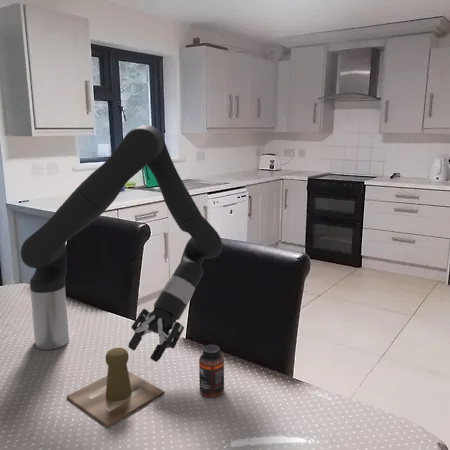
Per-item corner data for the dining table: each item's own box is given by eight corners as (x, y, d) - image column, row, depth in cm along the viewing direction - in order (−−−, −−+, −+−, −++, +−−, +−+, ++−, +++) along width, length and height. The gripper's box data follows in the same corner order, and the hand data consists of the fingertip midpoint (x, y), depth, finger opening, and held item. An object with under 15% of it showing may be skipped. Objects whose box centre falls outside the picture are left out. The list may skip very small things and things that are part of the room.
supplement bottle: (227, 387, 106) (227, 344, 104) (219, 401, 101) (219, 356, 98) (204, 382, 108) (204, 340, 106) (195, 395, 103) (195, 352, 100)
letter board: (66, 398, 101) (66, 395, 101) (122, 370, 113) (122, 368, 113) (107, 427, 91) (107, 425, 91) (164, 393, 103) (164, 391, 103)
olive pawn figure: (125, 402, 99) (123, 358, 97) (101, 399, 100) (98, 355, 98) (135, 387, 105) (134, 345, 102) (112, 384, 106) (110, 343, 103)
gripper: (148, 284, 115) (114, 339, 109) (186, 297, 106) (152, 358, 100) (164, 297, 120) (132, 351, 114) (201, 311, 111) (169, 370, 105)
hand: (141, 354), depth 107 cm, fingers open, 8 cm apart
